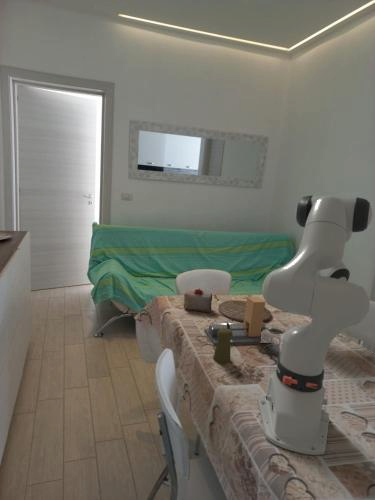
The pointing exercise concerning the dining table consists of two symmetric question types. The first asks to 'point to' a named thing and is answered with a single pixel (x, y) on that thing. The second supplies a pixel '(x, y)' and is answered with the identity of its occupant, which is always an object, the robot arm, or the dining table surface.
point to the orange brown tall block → (254, 315)
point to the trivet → (238, 310)
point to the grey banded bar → (230, 327)
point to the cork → (223, 346)
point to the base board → (237, 338)
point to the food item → (197, 301)
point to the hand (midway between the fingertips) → (277, 286)
